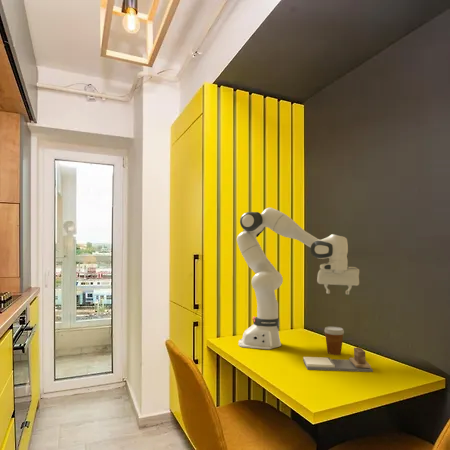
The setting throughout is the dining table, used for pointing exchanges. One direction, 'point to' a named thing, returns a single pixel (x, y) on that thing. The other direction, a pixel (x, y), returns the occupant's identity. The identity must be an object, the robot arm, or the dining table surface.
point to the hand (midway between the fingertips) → (337, 293)
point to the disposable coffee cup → (334, 340)
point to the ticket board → (331, 364)
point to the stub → (359, 359)
